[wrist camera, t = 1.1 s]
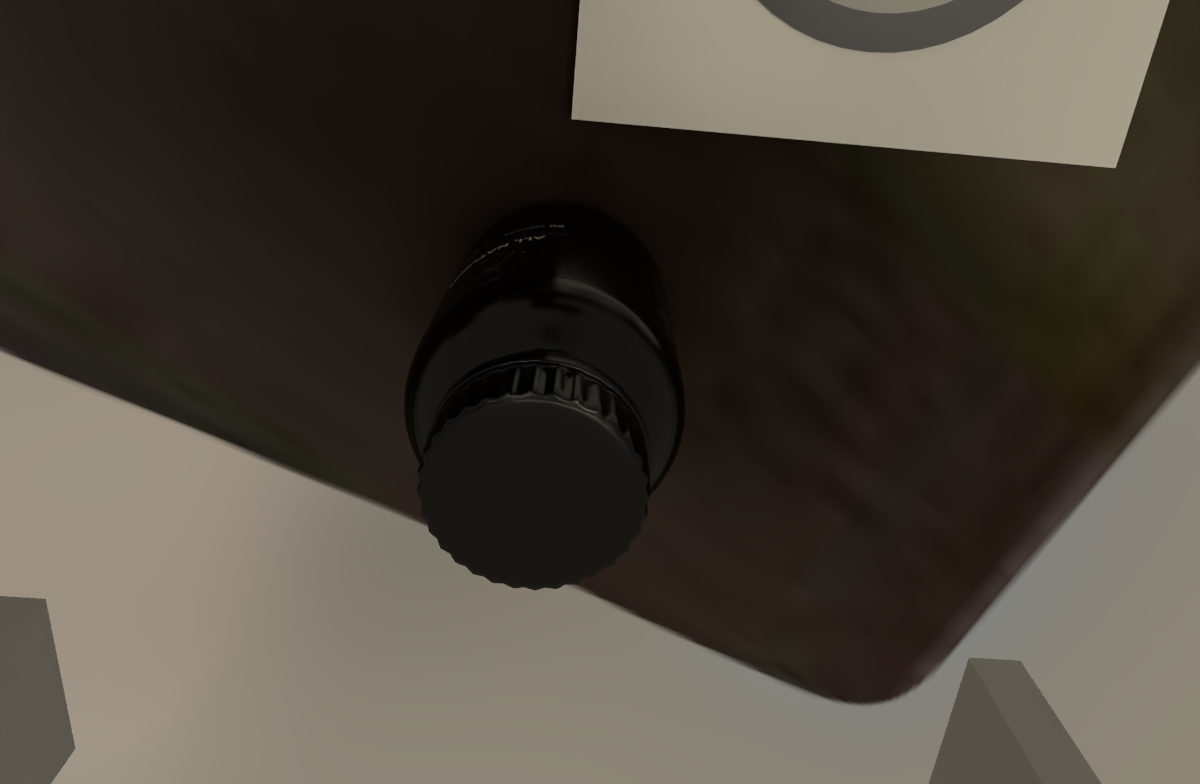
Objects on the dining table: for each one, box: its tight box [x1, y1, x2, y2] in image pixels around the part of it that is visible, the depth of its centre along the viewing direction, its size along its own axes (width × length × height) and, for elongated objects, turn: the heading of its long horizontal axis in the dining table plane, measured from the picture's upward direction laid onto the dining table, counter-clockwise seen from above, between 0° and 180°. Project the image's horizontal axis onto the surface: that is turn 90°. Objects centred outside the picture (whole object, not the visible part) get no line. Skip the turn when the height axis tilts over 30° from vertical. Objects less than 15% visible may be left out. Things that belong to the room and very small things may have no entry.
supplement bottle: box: [404, 205, 685, 590], centre depth 23 cm, size 7×7×12 cm
